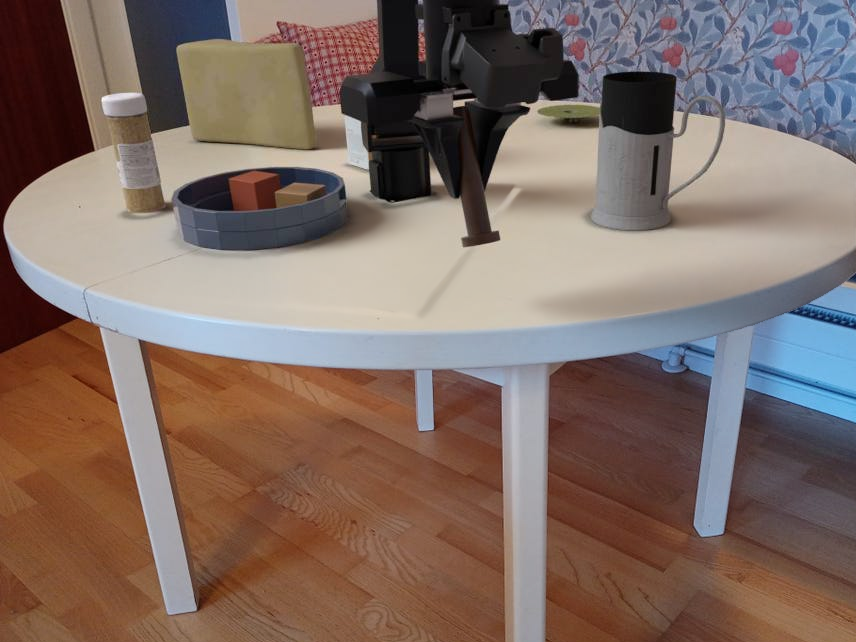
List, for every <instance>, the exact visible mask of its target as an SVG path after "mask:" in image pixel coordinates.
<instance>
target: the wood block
mask: <svg viewBox="0 0 856 642" xmlns="http://www.w3.org/2000/svg"><path fill="white" fill-rule="evenodd" d="M325 195H327V191H326V185H317V184H305V183H293V184H291V185H289V186H287V187H285V188H282V189H280V190H278V191H276V192H275V199H276V206H277V208H280V207H286V206H292V205H297V204H301V203H305V202H308V201H312V200H315V199H319V198H321V197H323V196H325Z"/></svg>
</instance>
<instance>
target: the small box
mask: <svg viewBox="0 0 856 642" xmlns="http://www.w3.org/2000/svg"><path fill="white" fill-rule="evenodd" d="M343 117H344V126H345V138H346V147H347V148H346V150H347V158H348V159H347V160H348V164H349V165H352V166H353V167H357V168H360V169H364V170H367V171H369V161H370V160H372V153H371V152H369V153H368V152H367V150H366V149H365V147H364V145H363V141H362V133H361V121H359V120H356V119H354V118H351V117H349V116H346V115H344V114H343ZM372 138H377V137H376V135H372Z"/></svg>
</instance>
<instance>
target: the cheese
mask: <svg viewBox="0 0 856 642" xmlns="http://www.w3.org/2000/svg"><path fill="white" fill-rule="evenodd" d="M303 49H304V48H303V47H302V45H300V44H299V43H295V42H283V43H282V42H281V43H246V42H240V41H235V40H231V39H223V38H213V39H207V40H197V41H192V42H186V43H182V44H179V45H177V46H176V56H177V62H178V68H179V73H180V79H181V83H182V90H183V94H184V101H185V106H186V111H187V117H188V118H187V119H188V123H189V129H190V133H191V137H192V140H193V141H197V142H212V143H229V144H230V143H231V144H242V145H243V144H245V145H254V146H255V145H256V146H264V147H265V146H267V147H275V148H284V149H285V148H286V149H296V150H311V149H314V148H316V147H317V136H316V128H315V121H314V113H313V104H312V94H311V86H310V81H309V75H308V69H307V65H306V60H305V54H304V50H303Z"/></svg>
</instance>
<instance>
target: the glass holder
mask: <svg viewBox="0 0 856 642" xmlns="http://www.w3.org/2000/svg"><path fill="white" fill-rule="evenodd" d="M677 80H678V77H677V75H675V74H671V73H667V72H660V71H645V70H644V71H639V70H638V71H619V72H613V73H608V74H604V75H603V76H602V90H601V102H600V105H599V108H600V115H598V116H599V117H598V118H599V120H598V141H597V161H596V162H597V163H596V164H597V165H596V186H595V205H594V208H593V211H592V213H591V215H590V218H591V221H592V222H594V223H595V224H597V225H598V226H601V227H604V228H608V229H612V230H613V229H614V230H620V231H648V230H655V229H658V228H662V227H665V226H667V225H669V224H670V222H671V214H670V212H669V207H668V206H669V205H668V204H669V200H670V199H671V198H673V196H675V195H676V194H678V193H680V192H681V191H682V190H684V189H685V188H687V187H688V186H690V185H691V184H692V183H694V182H695V181H696V180H698V179H699V178H700V177H702V176H703V175H704V174H706V172H708V170H709V168H710V167H711V165H712V164H713V163H714V161H715V159H716V157H717V155H718V153H719V150H720V148H721V145H722V143H723V139H724V134H725V128H726V112H725V110H724V107H723V105H722V103H720V102H719V101H718V100H717V99H715V98H713V97H712V96H708V95H702V96H697V97H695V98H694V99H692V100H690V102H689V103H688V104H687V105H686V107H685V109H684V111H683V113H682V118H681V125H680V130H679V132H677V133H675V127H674V117H675V116H674V115H675V104H676V103H675V102H676V93H677V92H676V91H677ZM701 101H707V102H709V103H710V104H713V105H714V106H715V108H716V109H717V112H718V115H719V127H718V132H717V139H716V142H715V145H714V147H713V150H712V152H711V154H710V156H709V157H708V159H707V161H706V162H705V164H704V165H703V166H702V168H701V169H700V170H699V171H698V172H696V174H695V175H693V176H692V177H691V178H689V179H688V180H687V181H686V182H683V184H681V185H679V186H678V187H676V188H675V189H674V190H672V191H671V192H670V185H671V184H670V182H671V170H672V159H673V158H672V157H673V150H674V149H673V148H674V138H675V139H676V138H679V137H682V136H683V135H684V134H685V132H686V131H687V127H688V120H689V119H688V118H689V114H690V112H691V110H692V108H693V107H694V106H695V104H697V103H698V102H701Z"/></svg>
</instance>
